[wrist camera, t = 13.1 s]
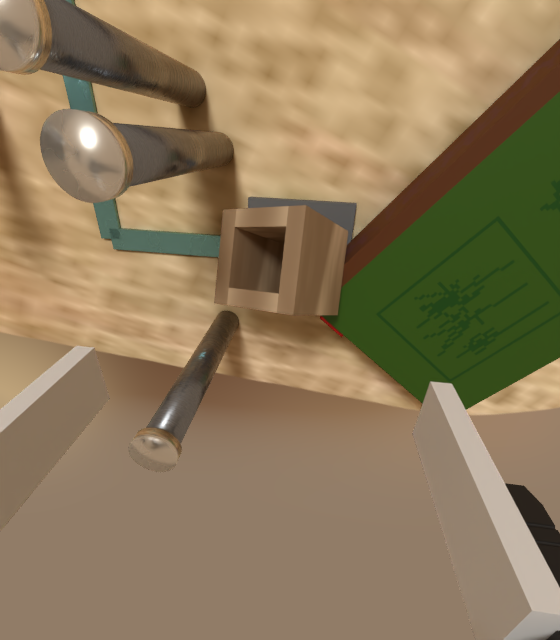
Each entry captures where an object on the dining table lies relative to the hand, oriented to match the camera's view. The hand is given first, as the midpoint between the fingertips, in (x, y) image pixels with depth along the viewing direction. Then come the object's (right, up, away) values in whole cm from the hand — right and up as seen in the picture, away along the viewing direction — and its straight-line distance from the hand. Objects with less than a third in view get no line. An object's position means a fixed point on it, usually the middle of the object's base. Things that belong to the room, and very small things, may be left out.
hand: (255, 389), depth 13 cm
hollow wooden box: (+3, +7, +14) cm, 16 cm away
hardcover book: (+18, +8, +15) cm, 25 cm away
